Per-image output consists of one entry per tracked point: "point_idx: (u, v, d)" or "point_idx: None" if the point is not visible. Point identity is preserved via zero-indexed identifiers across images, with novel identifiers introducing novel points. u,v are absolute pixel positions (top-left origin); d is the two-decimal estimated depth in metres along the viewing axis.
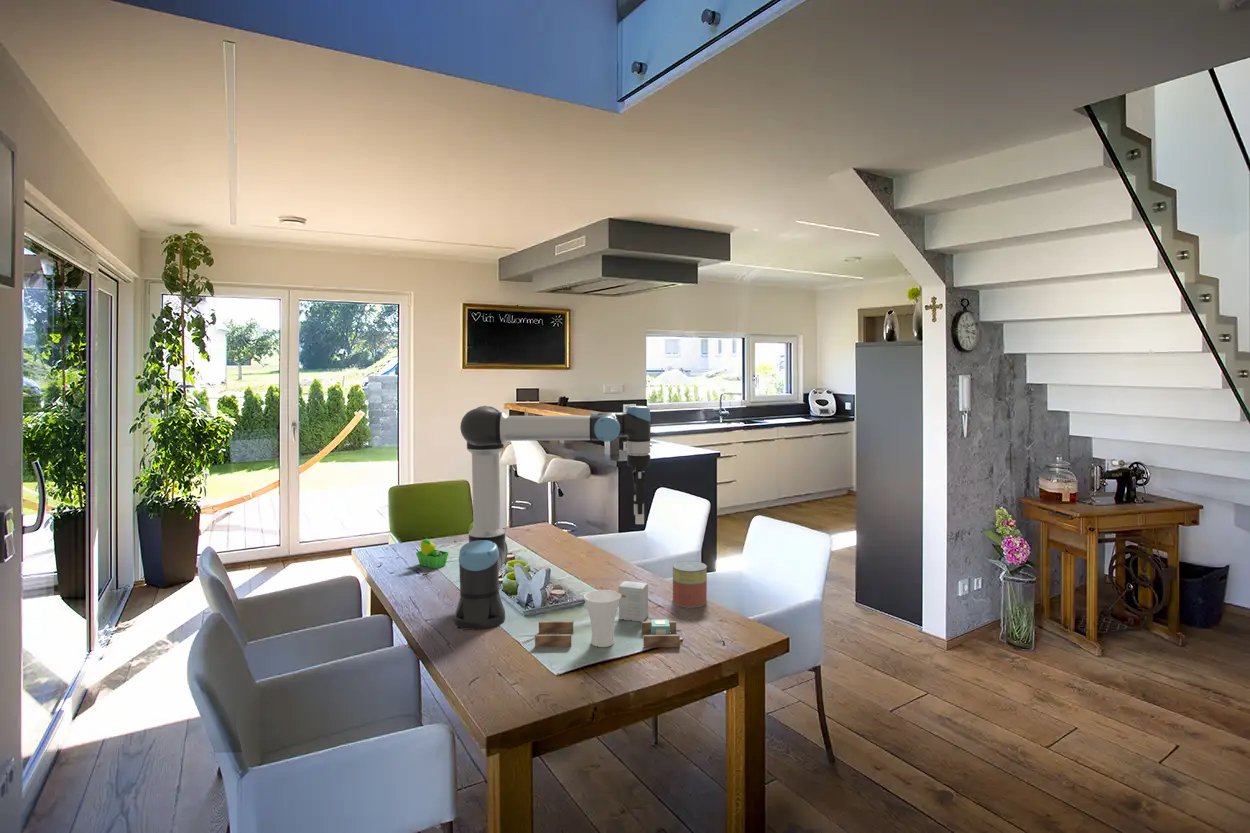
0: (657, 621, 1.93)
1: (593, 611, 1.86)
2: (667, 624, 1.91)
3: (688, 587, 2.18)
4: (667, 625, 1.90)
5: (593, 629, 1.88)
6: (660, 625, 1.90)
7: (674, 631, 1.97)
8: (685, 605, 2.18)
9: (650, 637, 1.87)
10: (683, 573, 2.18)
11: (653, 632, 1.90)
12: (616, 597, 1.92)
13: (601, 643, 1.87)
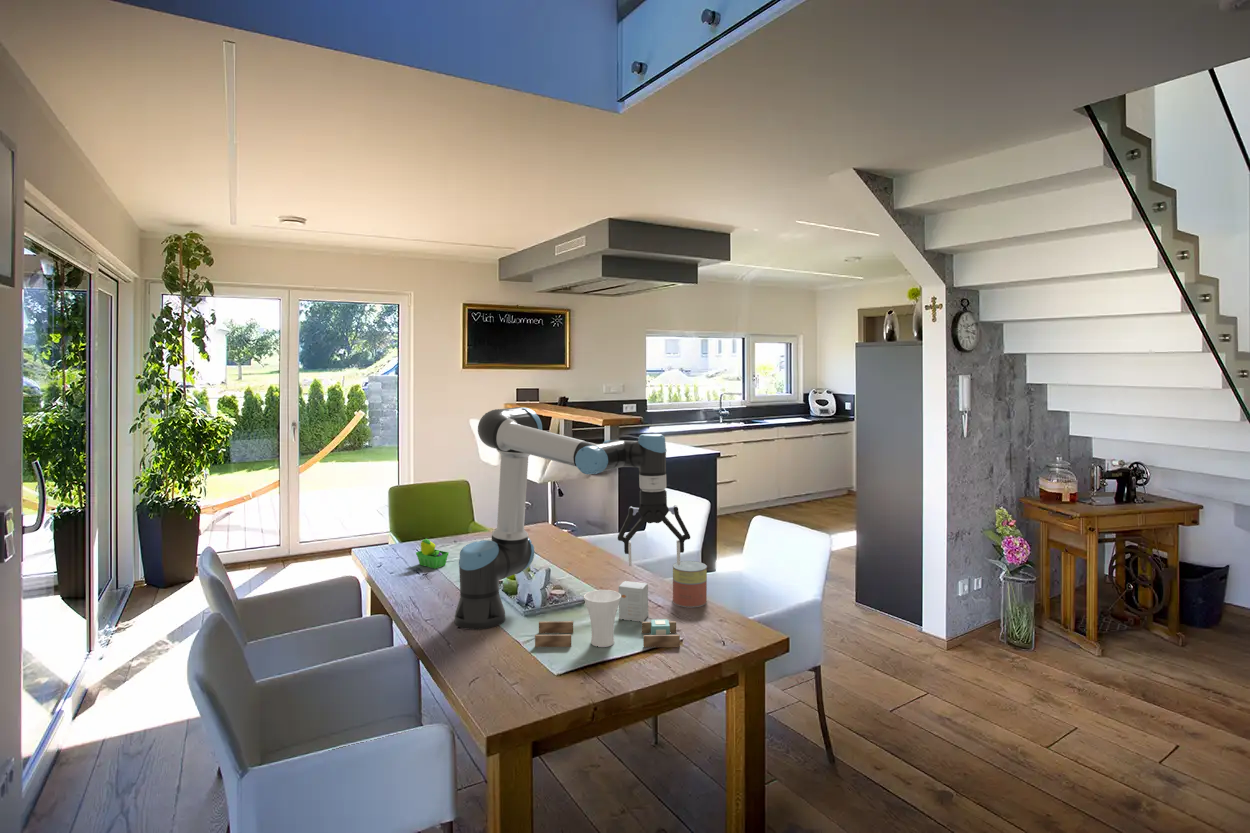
0: (657, 621, 1.93)
1: (593, 611, 1.86)
2: (667, 624, 1.91)
3: (688, 587, 2.18)
4: (667, 625, 1.90)
5: (593, 629, 1.88)
6: (660, 625, 1.90)
7: (674, 631, 1.97)
8: (685, 605, 2.18)
9: (650, 637, 1.87)
10: (683, 573, 2.18)
11: (653, 632, 1.90)
12: (616, 597, 1.92)
13: (601, 643, 1.87)
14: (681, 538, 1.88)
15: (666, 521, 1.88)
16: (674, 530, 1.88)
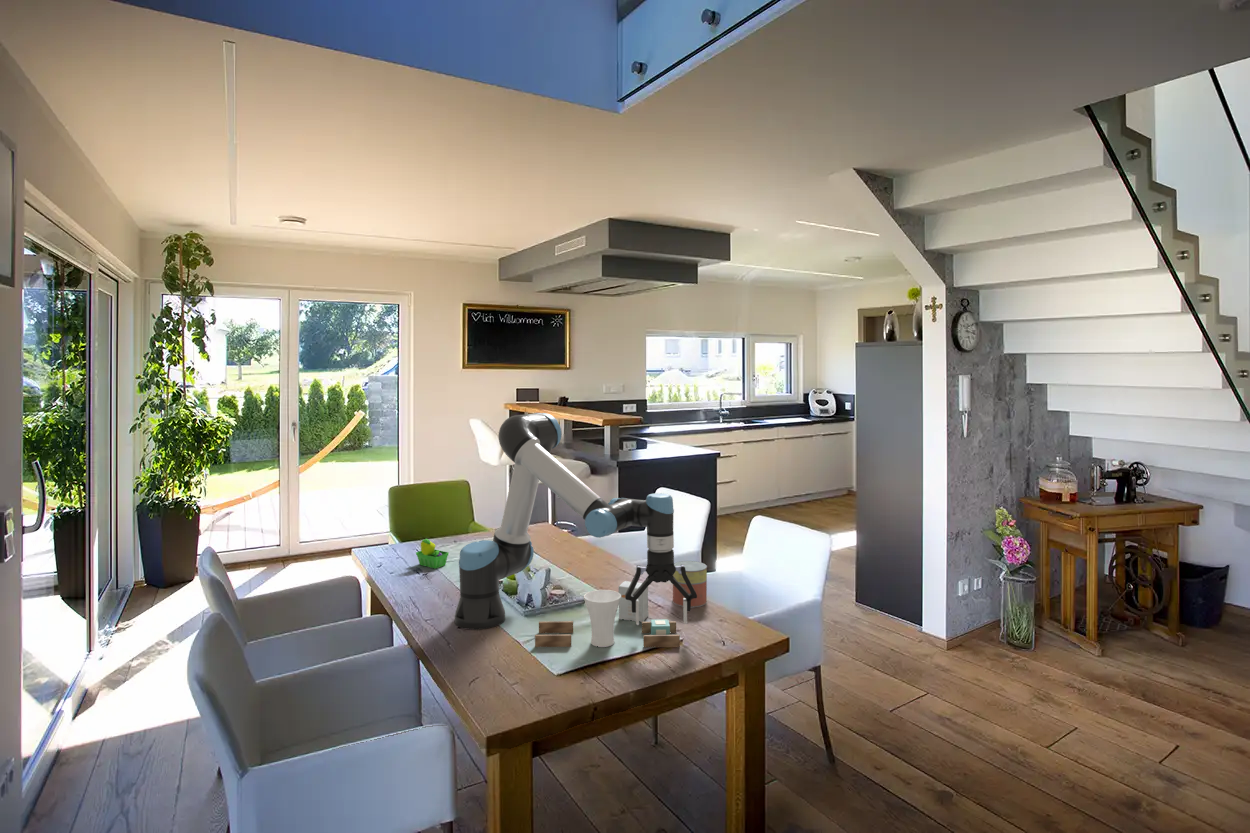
0: (657, 621, 1.93)
1: (593, 611, 1.86)
2: (667, 624, 1.91)
3: None
4: (667, 625, 1.90)
5: (593, 629, 1.88)
6: (660, 625, 1.90)
7: (674, 631, 1.97)
8: None
9: (650, 637, 1.87)
10: None
11: (653, 632, 1.90)
12: (616, 597, 1.92)
13: (601, 643, 1.87)
14: (688, 597, 1.90)
15: (673, 581, 1.90)
16: (681, 589, 1.90)
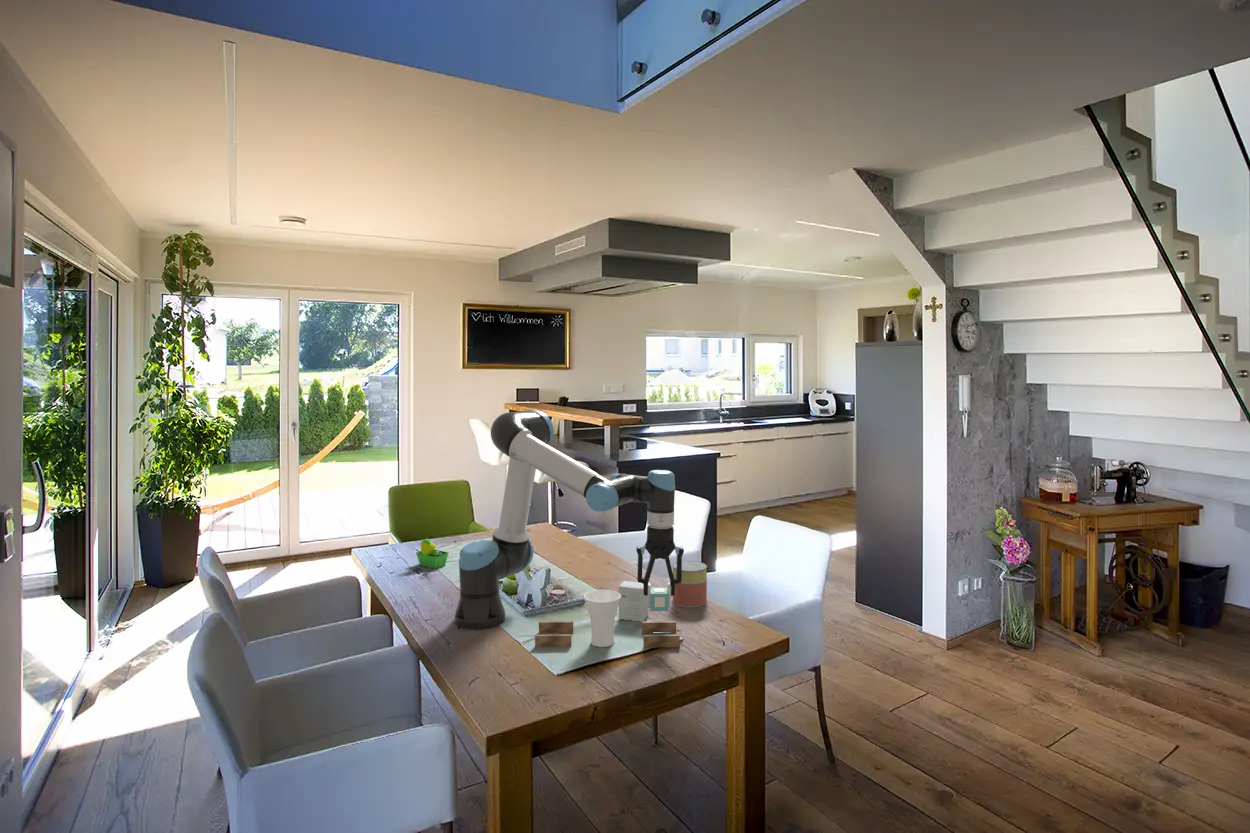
0: (656, 589, 1.92)
1: (593, 611, 1.86)
2: (666, 592, 1.90)
3: (688, 587, 2.18)
4: (666, 593, 1.90)
5: (593, 629, 1.88)
6: (659, 593, 1.90)
7: (674, 631, 1.97)
8: (685, 605, 2.18)
9: (650, 637, 1.87)
10: (683, 573, 2.18)
11: (652, 599, 1.89)
12: (616, 597, 1.92)
13: (601, 643, 1.87)
14: (673, 581, 1.90)
15: (668, 560, 1.89)
16: (670, 571, 1.90)
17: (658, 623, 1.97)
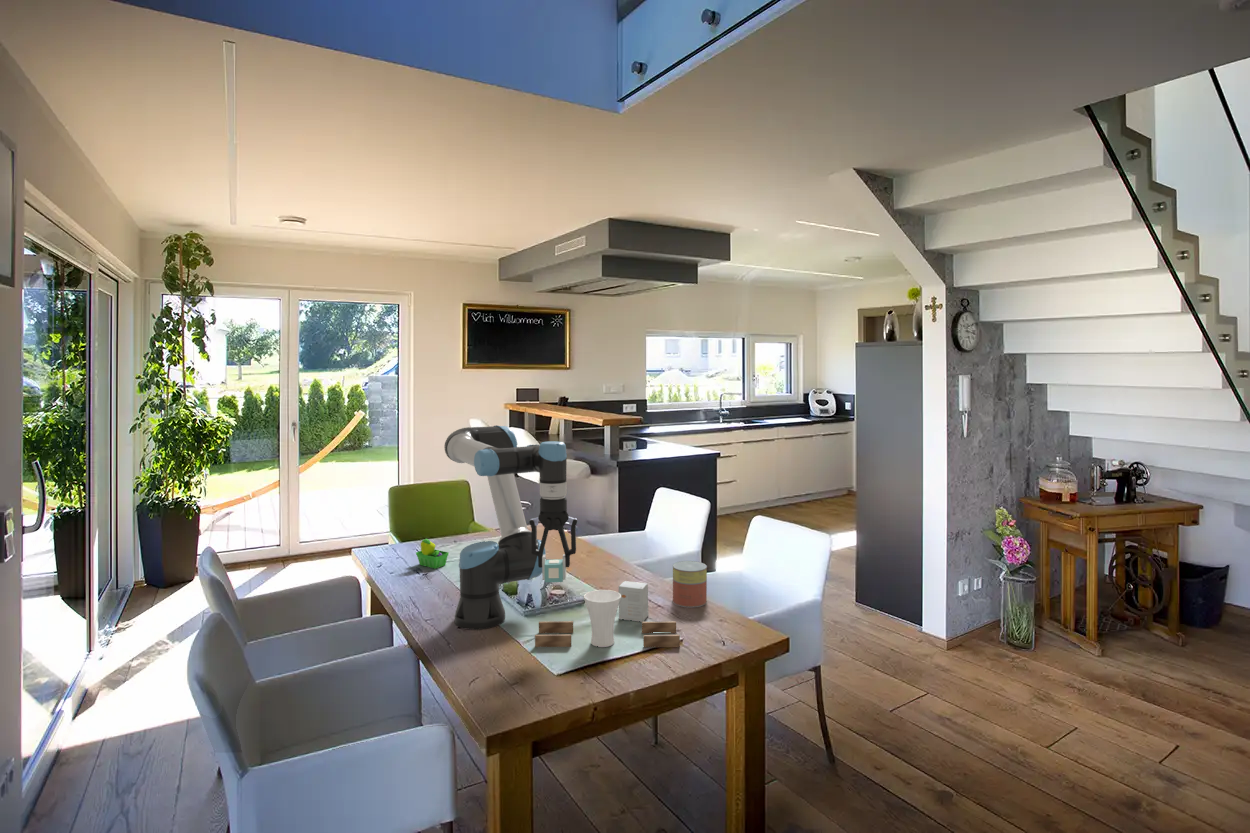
0: (551, 560, 1.92)
1: (593, 611, 1.86)
2: (560, 563, 1.90)
3: (688, 587, 2.18)
4: (560, 564, 1.89)
5: (593, 629, 1.88)
6: (553, 564, 1.89)
7: (674, 631, 1.97)
8: (685, 605, 2.18)
9: (650, 637, 1.87)
10: (683, 573, 2.18)
11: (546, 571, 1.89)
12: (616, 597, 1.92)
13: (601, 643, 1.87)
14: (567, 553, 1.90)
15: (561, 531, 1.89)
16: (564, 543, 1.90)
17: (658, 623, 1.97)
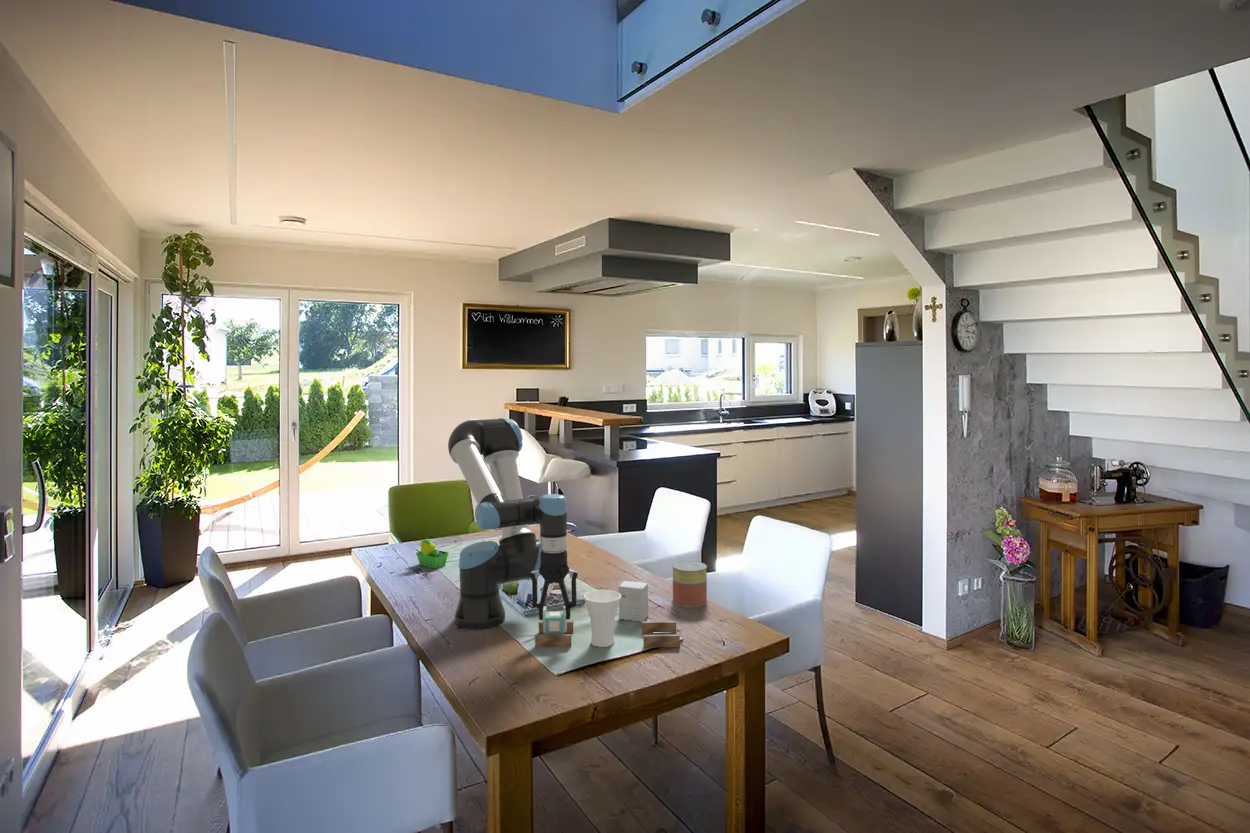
0: (552, 613, 1.93)
1: (593, 611, 1.86)
2: (561, 615, 1.91)
3: (688, 587, 2.18)
4: (561, 616, 1.90)
5: (593, 629, 1.88)
6: (553, 616, 1.90)
7: (674, 631, 1.97)
8: (685, 605, 2.18)
9: (650, 637, 1.87)
10: (683, 573, 2.18)
11: (546, 624, 1.90)
12: (616, 597, 1.92)
13: (601, 643, 1.87)
14: (567, 605, 1.91)
15: (561, 584, 1.90)
16: (565, 595, 1.91)
17: (658, 623, 1.97)
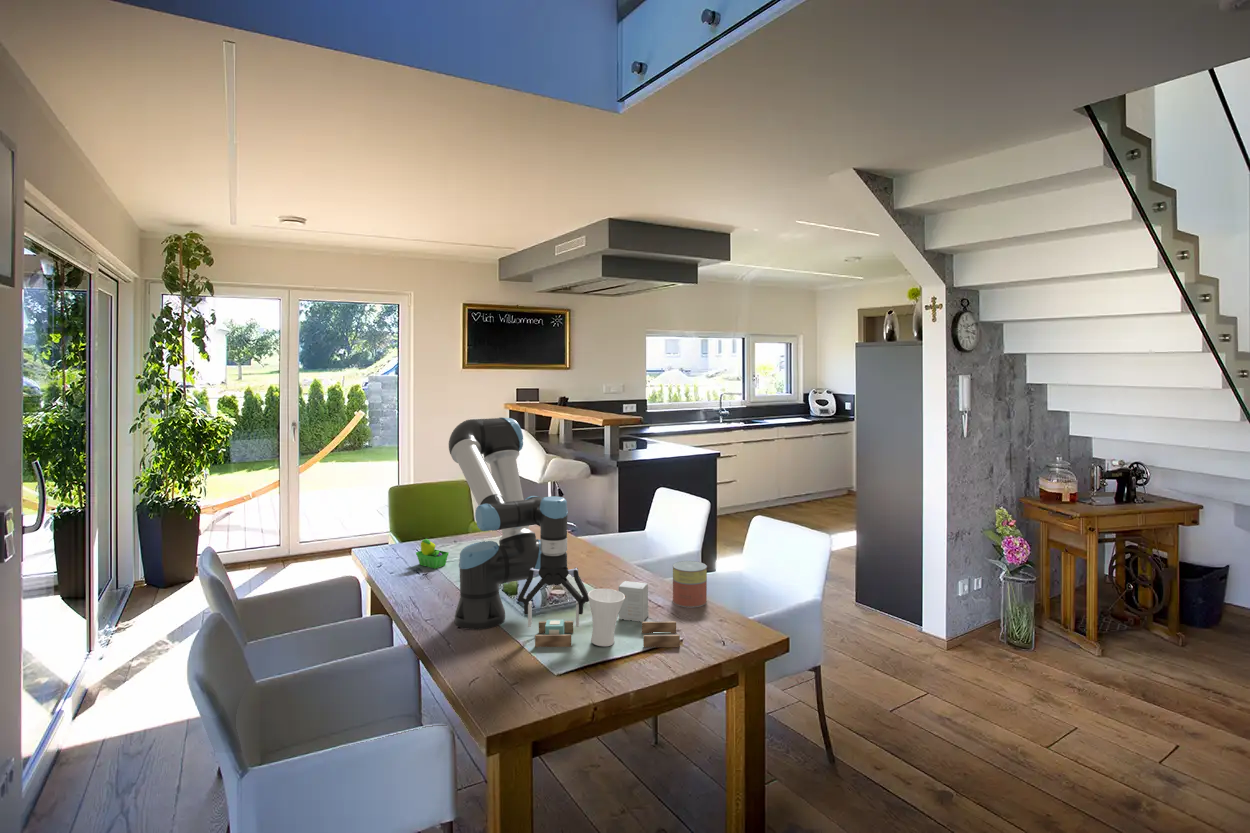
0: (552, 621, 1.93)
1: (596, 610, 1.86)
2: (561, 624, 1.91)
3: (688, 587, 2.18)
4: (561, 625, 1.90)
5: (594, 627, 1.88)
6: (553, 625, 1.90)
7: (674, 631, 1.97)
8: (685, 605, 2.18)
9: (650, 637, 1.87)
10: (683, 573, 2.18)
11: (546, 632, 1.90)
12: (620, 597, 1.91)
13: (601, 642, 1.87)
14: (580, 600, 1.91)
15: (565, 584, 1.90)
16: (573, 593, 1.91)
17: (658, 623, 1.97)
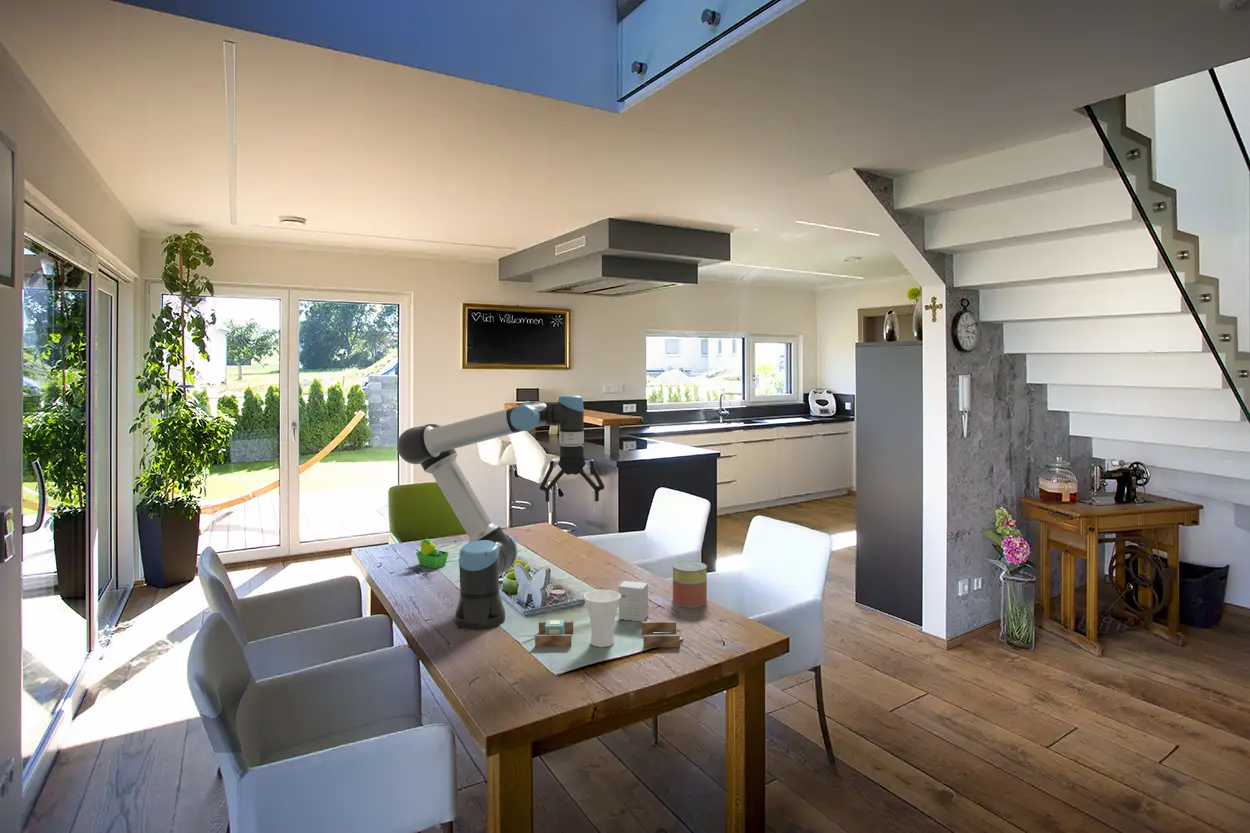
0: (552, 621, 1.93)
1: (592, 611, 1.86)
2: (561, 624, 1.91)
3: (688, 587, 2.18)
4: (560, 625, 1.90)
5: (593, 629, 1.88)
6: (553, 625, 1.90)
7: (674, 631, 1.97)
8: (685, 605, 2.18)
9: (650, 637, 1.87)
10: (683, 573, 2.18)
11: (546, 632, 1.90)
12: (616, 597, 1.92)
13: (601, 643, 1.87)
14: (596, 488, 2.12)
15: (583, 473, 2.11)
16: (590, 481, 2.12)
17: (658, 623, 1.97)
